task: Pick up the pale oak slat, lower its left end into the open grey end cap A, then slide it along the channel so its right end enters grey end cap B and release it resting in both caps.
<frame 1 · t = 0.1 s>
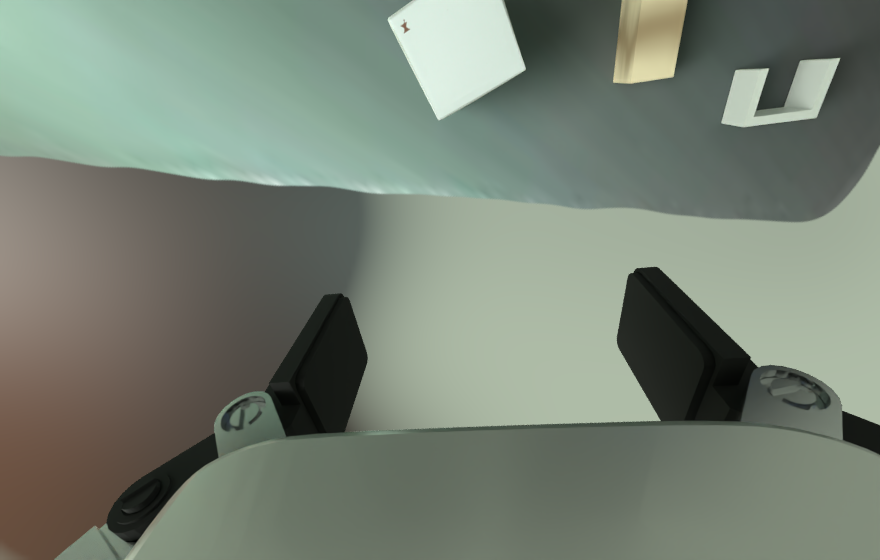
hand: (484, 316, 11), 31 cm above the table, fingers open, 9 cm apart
supplement box: (458, 54, 34), on the table
end cap b: (764, 88, 34), on the table
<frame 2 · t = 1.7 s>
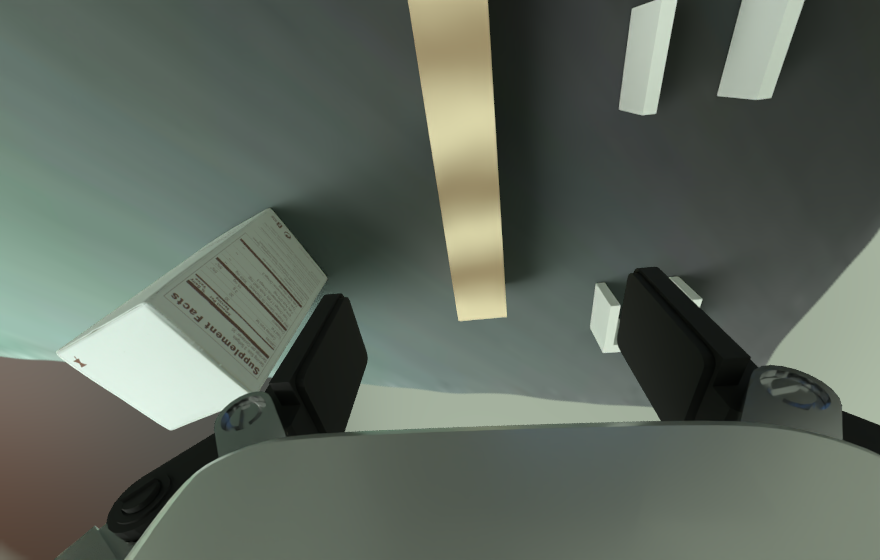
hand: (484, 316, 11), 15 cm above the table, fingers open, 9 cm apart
end cap a: (683, 53, 19), on the table
slat: (466, 168, 24), on the table
supplement box: (271, 260, 28), on the table
end cap b: (632, 299, 28), on the table
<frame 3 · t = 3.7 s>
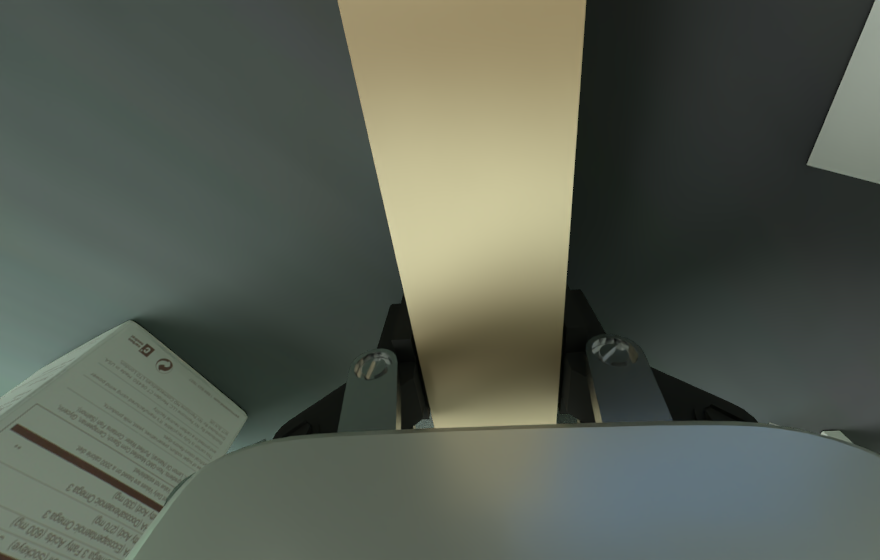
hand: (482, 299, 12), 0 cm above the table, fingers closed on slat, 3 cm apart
slat: (479, 267, 12), on the table, touching gripper
supplement box: (155, 388, 17), on the table
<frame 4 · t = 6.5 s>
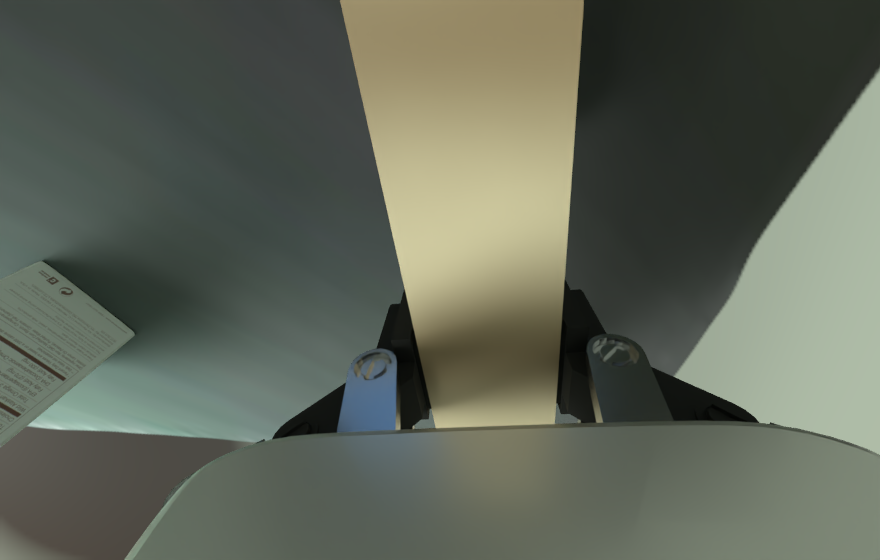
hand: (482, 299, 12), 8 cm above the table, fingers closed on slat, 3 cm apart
slat: (479, 267, 12), point 7 cm above the table, touching gripper
supplement box: (68, 314, 25), on the table
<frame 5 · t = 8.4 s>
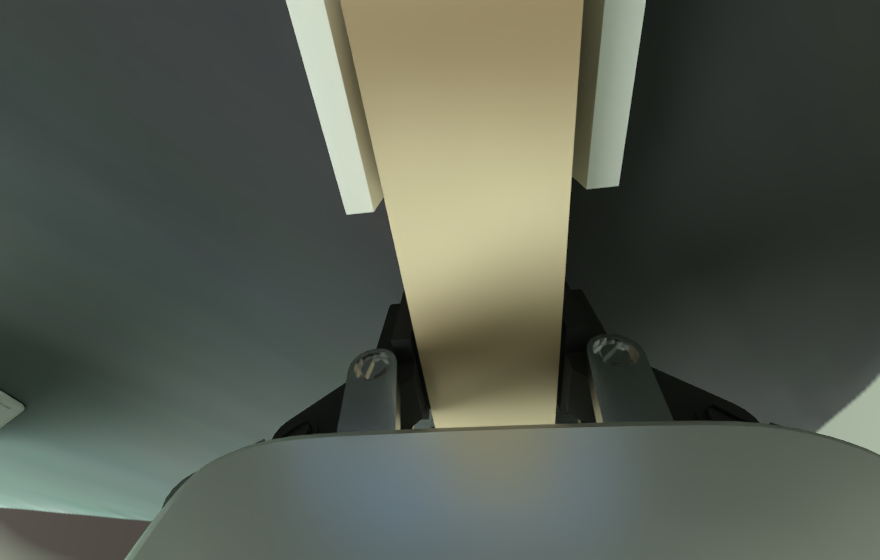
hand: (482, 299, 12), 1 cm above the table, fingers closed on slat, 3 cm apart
end cap a: (465, 77, 9), on the table
slat: (479, 266, 12), on the table, touching gripper
when the fingers open (1 cm above the table, at t = 9.8 s): slat stays where it is, on the table.
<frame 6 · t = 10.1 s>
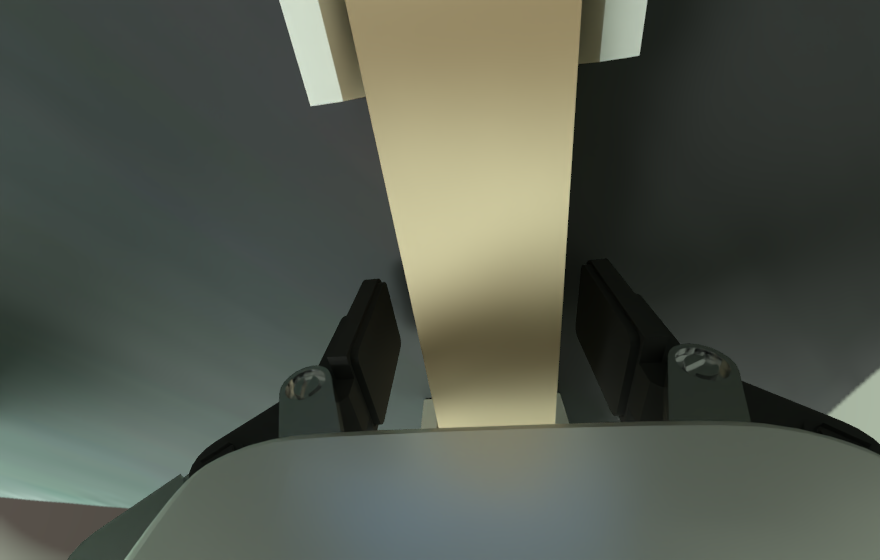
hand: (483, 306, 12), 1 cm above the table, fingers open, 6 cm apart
slat: (480, 263, 13), on the table
end cap b: (492, 423, 17), on the table
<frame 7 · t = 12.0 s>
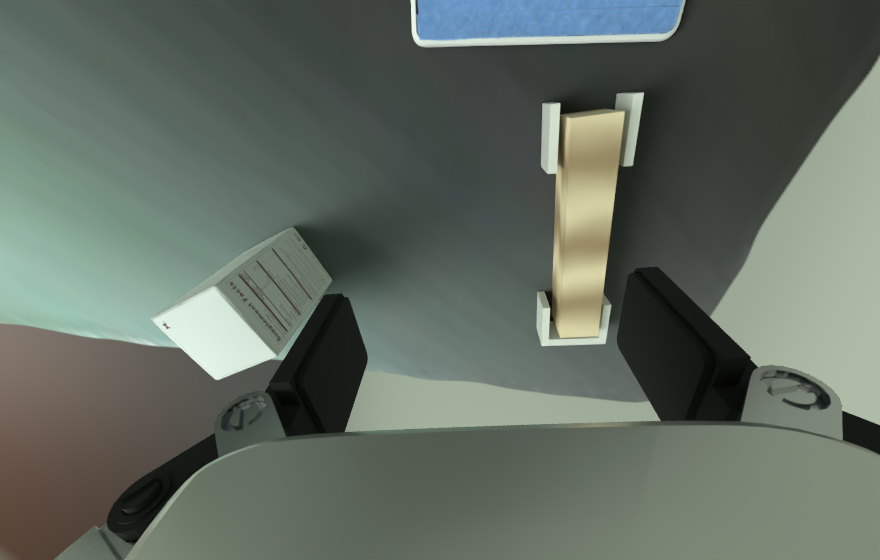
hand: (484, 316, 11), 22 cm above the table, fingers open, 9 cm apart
end cap a: (581, 131, 28), on the table
slat: (573, 226, 32), on the table
supplement box: (291, 265, 37), on the table
end cap b: (567, 305, 36), on the table
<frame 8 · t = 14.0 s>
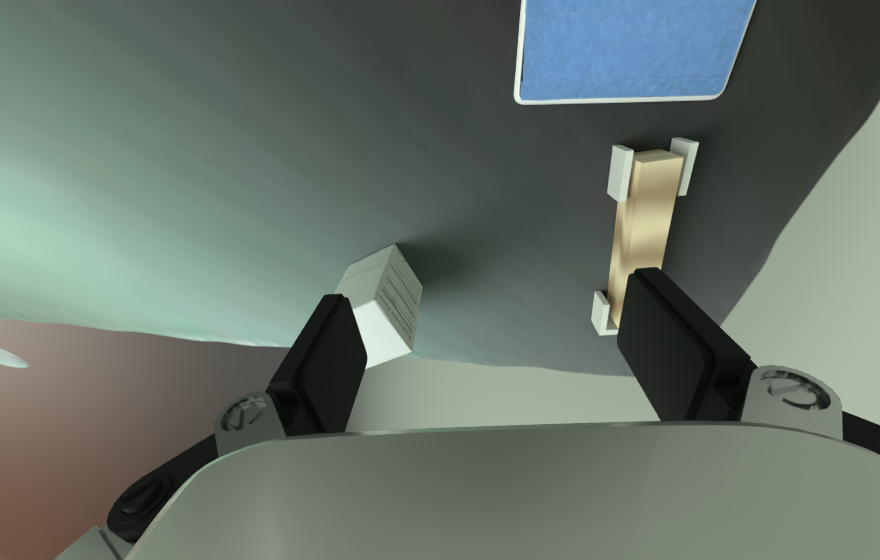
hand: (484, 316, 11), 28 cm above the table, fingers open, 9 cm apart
end cap a: (641, 166, 35), on the table
slat: (628, 238, 40), on the table
tablet computer: (627, 22, 30), on the table
supplement box: (387, 275, 44), on the table
end cap b: (618, 301, 44), on the table
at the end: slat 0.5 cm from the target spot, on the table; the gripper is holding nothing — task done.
